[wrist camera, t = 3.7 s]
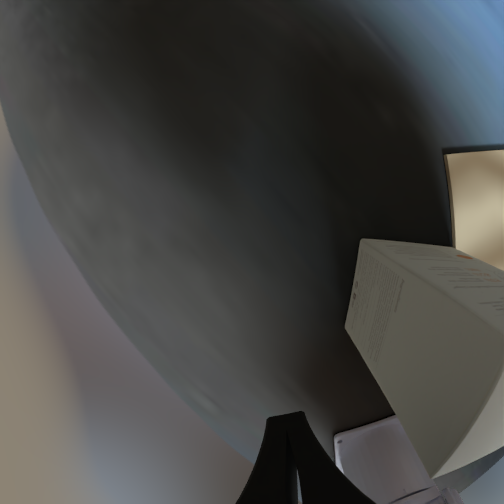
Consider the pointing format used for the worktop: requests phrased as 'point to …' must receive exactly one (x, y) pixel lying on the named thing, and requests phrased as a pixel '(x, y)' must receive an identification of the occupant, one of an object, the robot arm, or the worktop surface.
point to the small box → (433, 346)
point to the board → (477, 204)
